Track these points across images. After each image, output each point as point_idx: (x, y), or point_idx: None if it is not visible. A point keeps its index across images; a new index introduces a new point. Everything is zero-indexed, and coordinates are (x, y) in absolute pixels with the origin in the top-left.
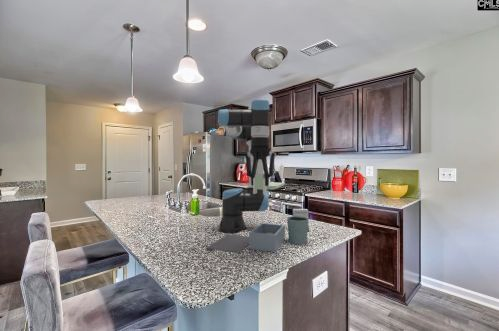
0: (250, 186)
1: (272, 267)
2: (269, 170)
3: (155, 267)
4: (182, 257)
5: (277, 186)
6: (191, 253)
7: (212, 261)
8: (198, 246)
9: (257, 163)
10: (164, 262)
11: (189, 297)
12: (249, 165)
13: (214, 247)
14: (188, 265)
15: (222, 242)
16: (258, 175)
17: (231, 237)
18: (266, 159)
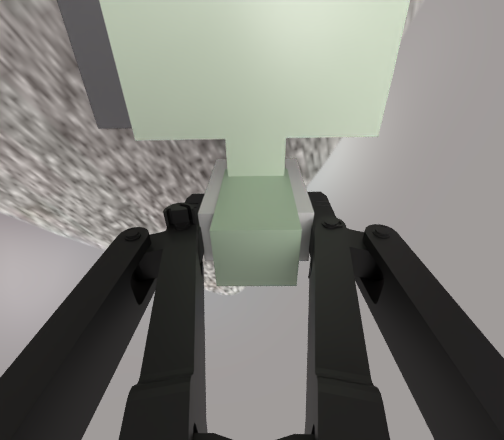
0: (149, 137)
1: (307, 169)
2: (374, 315)
3: (96, 243)
4: (94, 190)
5: (389, 75)
6: (89, 162)
7: (169, 186)
8: (56, 107)
9: (194, 350)
10: (88, 222)
11: (218, 288)
12: (110, 355)
13: (116, 116)
14: (140, 218)
15: (101, 57)
16: (252, 280)
17: None
18: (383, 430)
